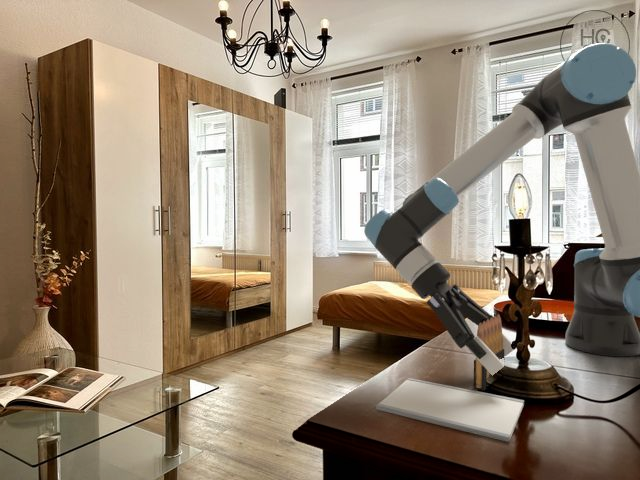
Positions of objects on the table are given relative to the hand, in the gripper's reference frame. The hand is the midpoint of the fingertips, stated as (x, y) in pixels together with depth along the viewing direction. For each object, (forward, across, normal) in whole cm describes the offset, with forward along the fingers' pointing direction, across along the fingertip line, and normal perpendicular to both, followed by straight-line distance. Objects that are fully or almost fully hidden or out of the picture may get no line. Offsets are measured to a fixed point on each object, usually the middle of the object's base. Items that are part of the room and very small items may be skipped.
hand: (505, 360), depth 80 cm
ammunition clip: (+1, 0, -5) cm, 5 cm away
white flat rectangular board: (-1, +15, -7) cm, 17 cm away
